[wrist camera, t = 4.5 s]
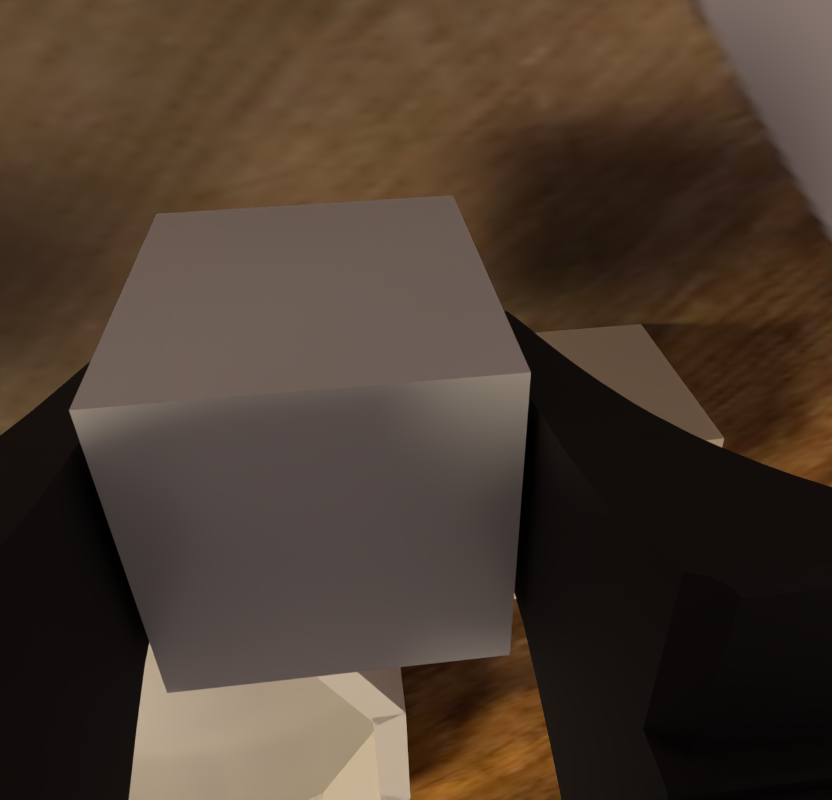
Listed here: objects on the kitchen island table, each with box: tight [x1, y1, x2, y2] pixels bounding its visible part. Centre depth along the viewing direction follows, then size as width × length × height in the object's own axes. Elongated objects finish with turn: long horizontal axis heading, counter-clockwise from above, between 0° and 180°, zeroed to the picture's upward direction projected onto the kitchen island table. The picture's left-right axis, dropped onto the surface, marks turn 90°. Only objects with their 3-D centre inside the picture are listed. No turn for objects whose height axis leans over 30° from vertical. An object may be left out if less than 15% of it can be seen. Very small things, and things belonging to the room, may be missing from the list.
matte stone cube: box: [69, 195, 531, 693], centre depth 11 cm, size 4×4×5 cm
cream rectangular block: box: [514, 324, 724, 599], centre depth 19 cm, size 4×4×5 cm
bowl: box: [129, 642, 410, 800], centre depth 25 cm, size 18×18×4 cm
